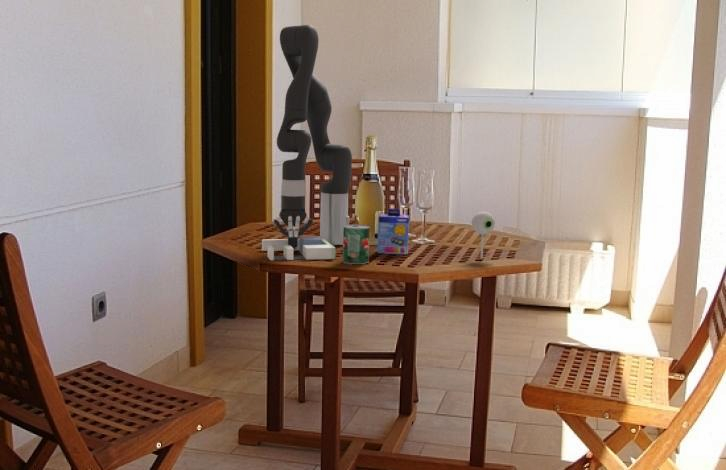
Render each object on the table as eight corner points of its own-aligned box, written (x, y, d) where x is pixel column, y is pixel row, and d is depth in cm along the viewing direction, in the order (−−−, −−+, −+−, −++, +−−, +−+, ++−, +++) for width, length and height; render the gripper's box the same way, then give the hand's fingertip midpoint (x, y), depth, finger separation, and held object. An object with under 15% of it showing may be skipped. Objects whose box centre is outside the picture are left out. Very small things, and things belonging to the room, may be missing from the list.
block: (317, 252, 295) (318, 236, 294) (321, 255, 290) (322, 239, 289) (299, 252, 294) (299, 236, 293) (303, 255, 288) (303, 239, 287)
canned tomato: (372, 264, 276) (373, 227, 274) (346, 265, 273) (347, 228, 272) (364, 259, 283) (365, 224, 281) (339, 260, 281) (340, 224, 279)
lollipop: (477, 261, 285) (479, 213, 283) (465, 257, 291) (468, 210, 289) (497, 260, 288) (499, 212, 285) (485, 256, 294) (487, 209, 292)
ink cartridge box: (376, 253, 294) (378, 208, 292) (377, 250, 300) (378, 206, 297) (407, 254, 294) (409, 209, 291) (407, 251, 299) (409, 207, 297)
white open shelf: (323, 249, 299) (323, 238, 299) (335, 258, 283) (335, 247, 282) (261, 250, 294) (262, 239, 294) (270, 260, 278) (270, 248, 277)
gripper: (311, 192, 293) (310, 246, 295) (270, 192, 289) (269, 247, 292) (316, 195, 286) (315, 250, 288) (274, 195, 282) (273, 251, 285)
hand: (292, 248), depth 290 cm, fingers closed
